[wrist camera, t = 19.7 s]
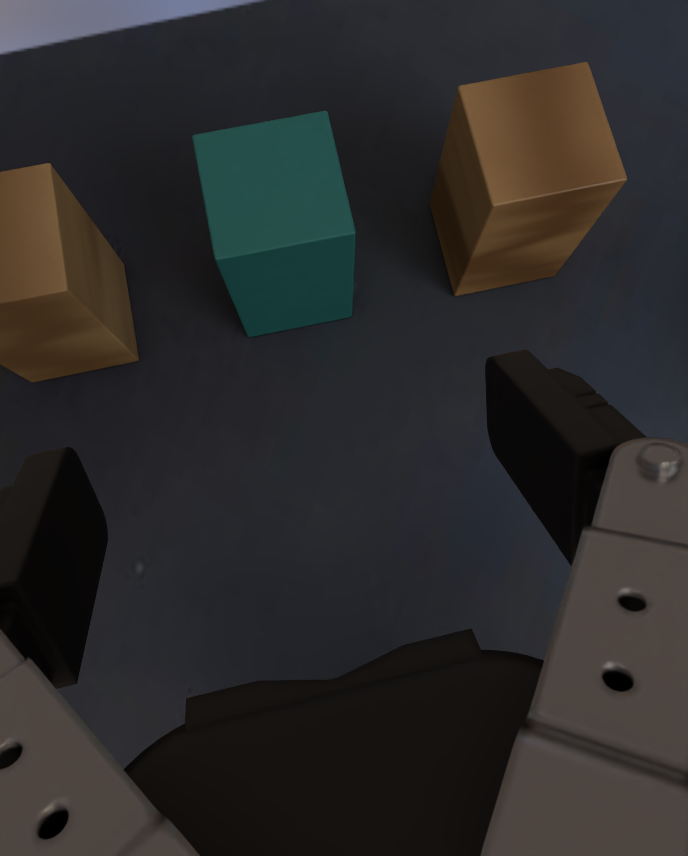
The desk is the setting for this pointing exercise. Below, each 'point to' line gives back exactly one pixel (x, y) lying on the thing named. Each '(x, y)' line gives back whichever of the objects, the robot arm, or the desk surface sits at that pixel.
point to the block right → (522, 176)
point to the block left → (58, 282)
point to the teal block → (279, 221)
